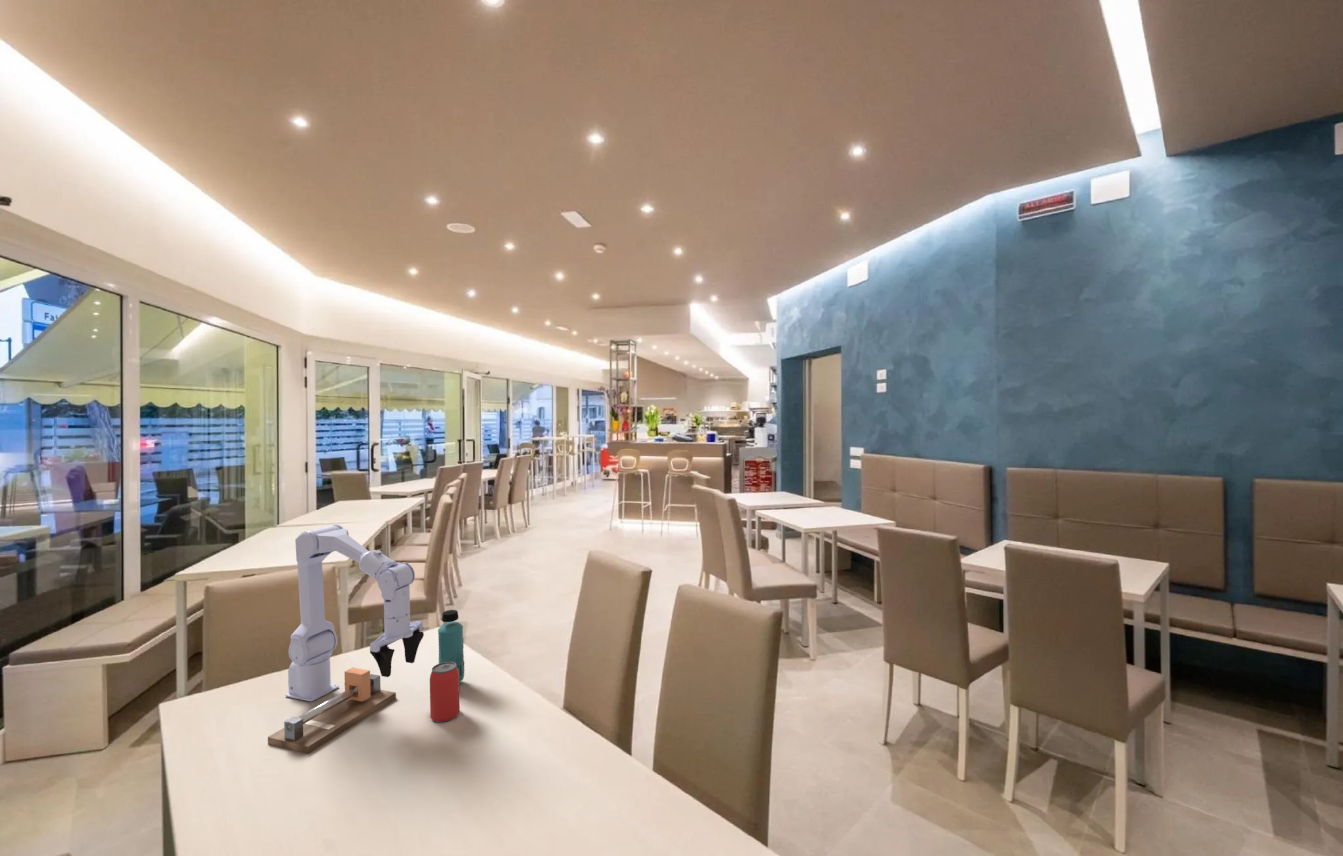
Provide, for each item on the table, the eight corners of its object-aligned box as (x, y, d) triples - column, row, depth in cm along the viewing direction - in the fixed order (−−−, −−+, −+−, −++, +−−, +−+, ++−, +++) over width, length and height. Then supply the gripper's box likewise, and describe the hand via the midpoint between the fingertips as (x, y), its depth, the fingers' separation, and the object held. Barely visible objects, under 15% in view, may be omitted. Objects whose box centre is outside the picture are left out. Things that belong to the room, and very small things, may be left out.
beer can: (464, 709, 135) (463, 661, 134) (451, 724, 128) (450, 673, 128) (439, 708, 135) (438, 660, 135) (424, 722, 129) (423, 672, 129)
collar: (345, 698, 136) (344, 671, 136) (353, 693, 138) (352, 667, 138) (362, 701, 134) (361, 674, 134) (370, 696, 137) (369, 670, 136)
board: (267, 743, 121) (267, 736, 121) (359, 691, 144) (359, 685, 144) (307, 753, 117) (307, 746, 117) (395, 698, 140) (395, 692, 140)
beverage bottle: (455, 692, 143) (454, 616, 143) (433, 689, 144) (431, 615, 144) (469, 680, 149) (468, 608, 149) (448, 678, 151) (446, 606, 150)
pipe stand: (284, 739, 120) (284, 721, 120) (371, 689, 142) (371, 674, 142) (294, 741, 119) (294, 723, 119) (380, 690, 141) (380, 675, 141)
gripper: (386, 627, 126) (387, 685, 127) (431, 606, 140) (432, 658, 140) (362, 623, 128) (363, 680, 129) (409, 603, 142) (410, 655, 143)
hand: (398, 669), depth 135 cm, fingers open, 7 cm apart
